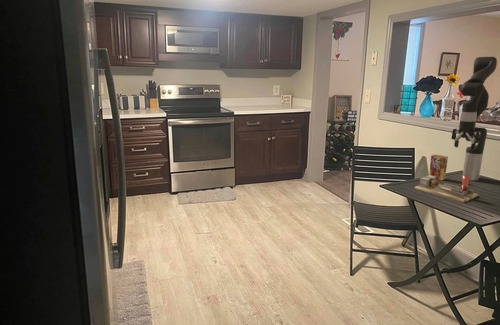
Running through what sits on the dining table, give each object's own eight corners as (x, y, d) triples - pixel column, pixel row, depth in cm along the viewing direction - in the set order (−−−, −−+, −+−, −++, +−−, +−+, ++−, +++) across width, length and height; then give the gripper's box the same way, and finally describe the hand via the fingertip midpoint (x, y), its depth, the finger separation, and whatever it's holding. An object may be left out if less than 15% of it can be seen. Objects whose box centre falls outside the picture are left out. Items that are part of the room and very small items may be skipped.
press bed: (429, 183, 220) (431, 173, 218) (477, 196, 197) (479, 185, 195) (414, 188, 211) (415, 178, 210) (463, 202, 189) (464, 191, 187)
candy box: (445, 179, 227) (448, 156, 223) (442, 180, 224) (445, 157, 220) (431, 176, 233) (434, 153, 229) (428, 177, 231) (431, 155, 227)
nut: (432, 185, 212) (433, 179, 211) (439, 187, 209) (440, 181, 208) (429, 187, 210) (429, 180, 209) (435, 188, 206) (436, 182, 205)
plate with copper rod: (457, 191, 202) (460, 172, 199) (469, 194, 196) (472, 175, 193) (450, 194, 198) (453, 175, 195) (462, 197, 192) (465, 178, 189)
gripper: (485, 120, 189) (481, 149, 194) (458, 117, 201) (454, 145, 205) (478, 122, 186) (474, 152, 190) (451, 119, 197) (447, 147, 202)
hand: (464, 148), depth 198 cm, fingers open, 8 cm apart
